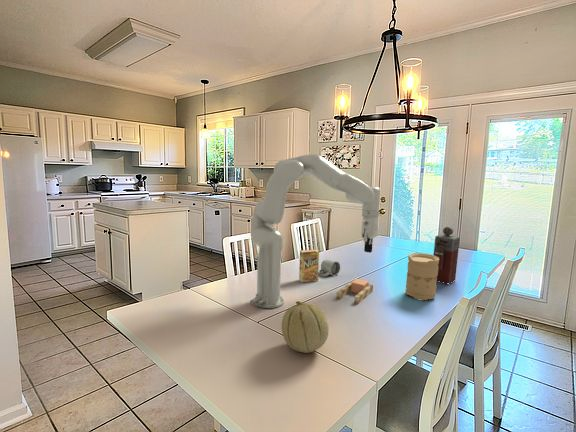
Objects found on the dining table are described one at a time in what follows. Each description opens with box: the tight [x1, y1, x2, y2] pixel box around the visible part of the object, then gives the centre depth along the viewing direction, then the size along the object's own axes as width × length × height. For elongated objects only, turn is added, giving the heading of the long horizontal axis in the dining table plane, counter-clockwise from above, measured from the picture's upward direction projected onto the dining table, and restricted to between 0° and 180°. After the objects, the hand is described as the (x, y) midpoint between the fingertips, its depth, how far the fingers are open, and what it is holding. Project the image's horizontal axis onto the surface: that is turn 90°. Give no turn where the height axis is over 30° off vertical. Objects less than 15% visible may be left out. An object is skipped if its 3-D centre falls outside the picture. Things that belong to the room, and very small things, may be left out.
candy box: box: [298, 249, 320, 283], centre depth 162 cm, size 9×4×15 cm, turn 107°
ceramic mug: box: [318, 259, 341, 278], centre depth 173 cm, size 11×8×8 cm
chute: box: [336, 279, 374, 305], centre depth 146 cm, size 18×10×3 cm, turn 146°
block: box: [350, 278, 370, 294], centre depth 150 cm, size 6×6×4 cm
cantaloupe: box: [281, 300, 329, 354], centre depth 101 cm, size 15×15×15 cm
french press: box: [433, 226, 461, 285], centre depth 165 cm, size 9×11×28 cm
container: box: [405, 252, 439, 301], centre depth 146 cm, size 13×13×18 cm
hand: (368, 251), depth 155 cm, fingers closed
